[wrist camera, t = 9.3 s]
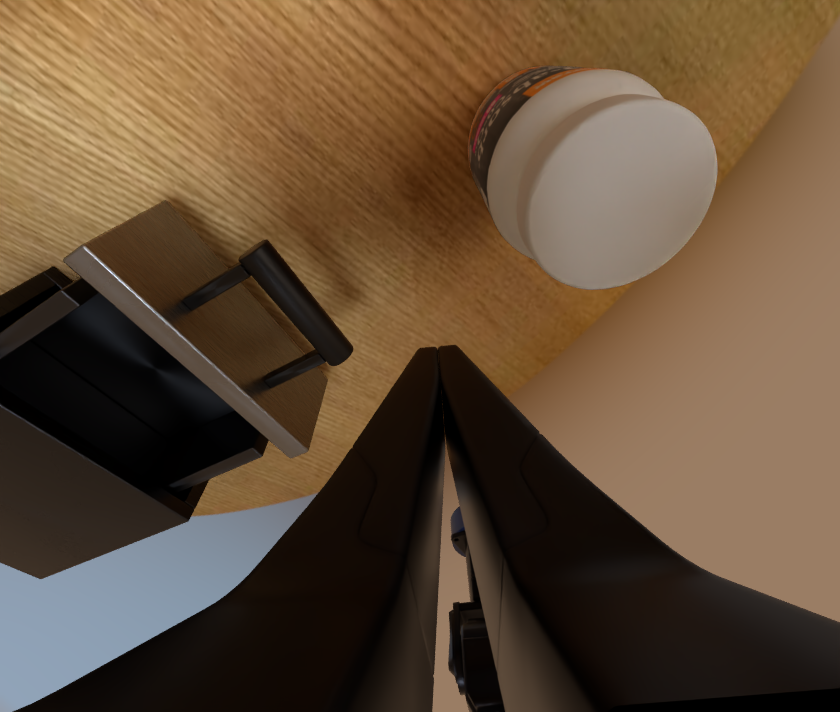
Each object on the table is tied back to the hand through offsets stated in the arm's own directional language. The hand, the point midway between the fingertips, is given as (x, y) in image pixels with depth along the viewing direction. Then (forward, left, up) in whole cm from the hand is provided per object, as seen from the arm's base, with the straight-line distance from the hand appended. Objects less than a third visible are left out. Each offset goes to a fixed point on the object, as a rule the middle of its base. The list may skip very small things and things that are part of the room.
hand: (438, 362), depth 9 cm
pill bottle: (0, -5, -13) cm, 14 cm away
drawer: (0, +14, -12) cm, 19 cm away
